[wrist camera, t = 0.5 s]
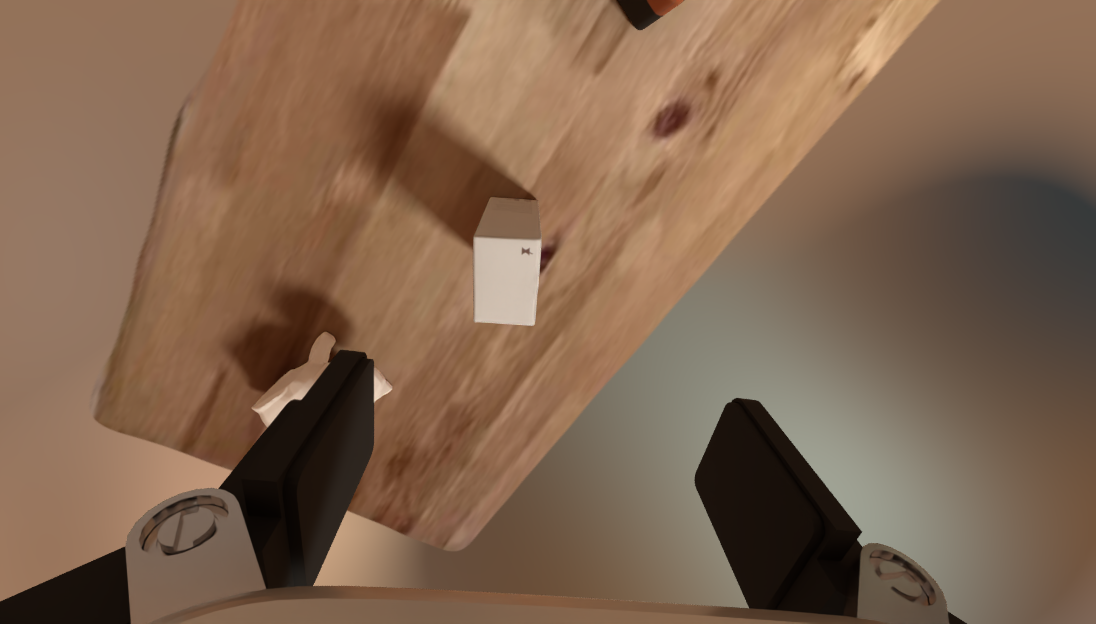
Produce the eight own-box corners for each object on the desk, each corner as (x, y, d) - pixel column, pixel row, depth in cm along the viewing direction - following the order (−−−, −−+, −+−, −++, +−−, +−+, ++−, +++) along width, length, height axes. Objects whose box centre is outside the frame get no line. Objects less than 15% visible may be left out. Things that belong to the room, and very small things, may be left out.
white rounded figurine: (352, 407, 48) (430, 367, 40) (301, 475, 42) (381, 443, 34) (289, 358, 45) (358, 303, 37) (223, 423, 39) (290, 374, 30)
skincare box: (488, 195, 36) (471, 232, 25) (538, 199, 36) (544, 237, 25) (487, 263, 38) (471, 324, 28) (534, 266, 39) (537, 327, 28)
